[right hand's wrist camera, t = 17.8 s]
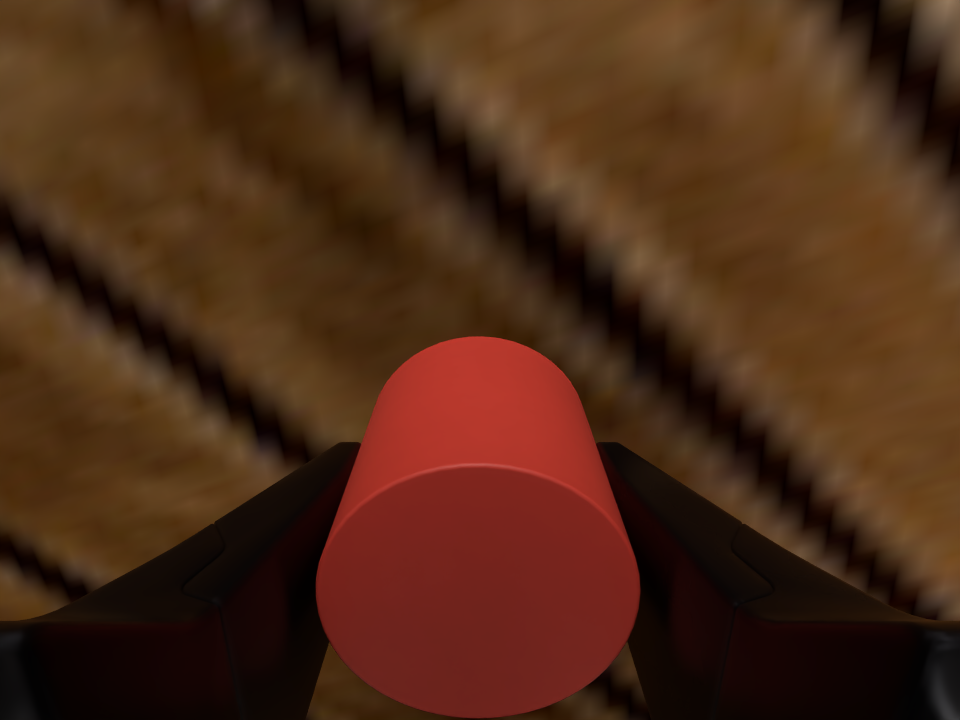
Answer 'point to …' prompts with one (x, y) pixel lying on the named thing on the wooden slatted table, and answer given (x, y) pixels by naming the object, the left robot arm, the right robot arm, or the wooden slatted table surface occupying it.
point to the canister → (478, 539)
